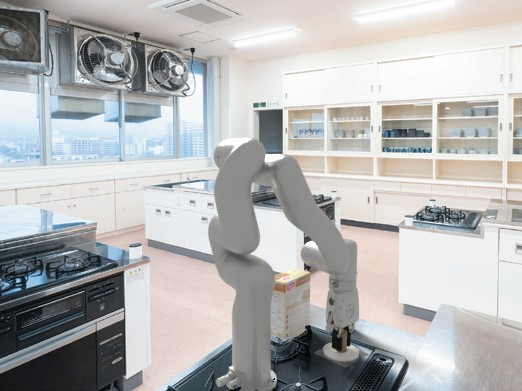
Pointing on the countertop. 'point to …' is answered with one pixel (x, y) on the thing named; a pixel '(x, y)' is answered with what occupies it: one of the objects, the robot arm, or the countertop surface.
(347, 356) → the lid
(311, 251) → the robot arm
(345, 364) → the mat
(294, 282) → the coffeecake box
